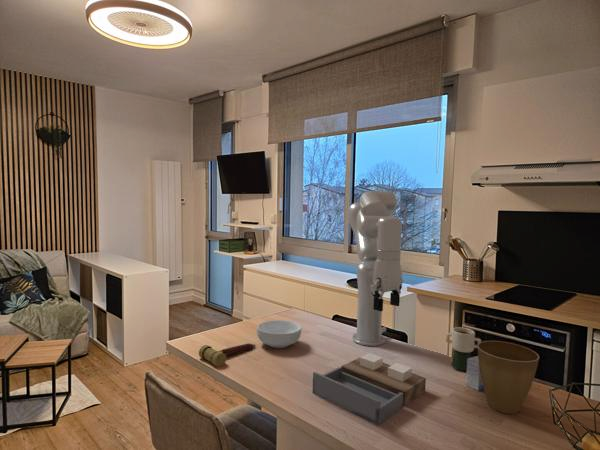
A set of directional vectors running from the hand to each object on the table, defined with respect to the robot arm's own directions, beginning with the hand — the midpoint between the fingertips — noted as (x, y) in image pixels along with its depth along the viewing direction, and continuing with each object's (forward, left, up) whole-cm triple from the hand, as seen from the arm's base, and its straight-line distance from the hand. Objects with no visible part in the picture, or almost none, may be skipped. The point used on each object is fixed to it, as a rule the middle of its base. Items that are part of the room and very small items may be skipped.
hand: (386, 307), depth 127 cm
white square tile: (+8, 0, -17) cm, 19 cm away
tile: (+8, +10, -17) cm, 21 cm away
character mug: (-20, +17, -21) cm, 34 cm away
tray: (+23, +5, -21) cm, 31 cm away
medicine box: (-12, +26, -21) cm, 36 cm away
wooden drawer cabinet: (+10, +5, -21) cm, 23 cm away
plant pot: (-4, +35, -21) cm, 41 cm away
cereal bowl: (+11, -40, -21) cm, 46 cm away
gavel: (+29, -44, -21) cm, 57 cm away
